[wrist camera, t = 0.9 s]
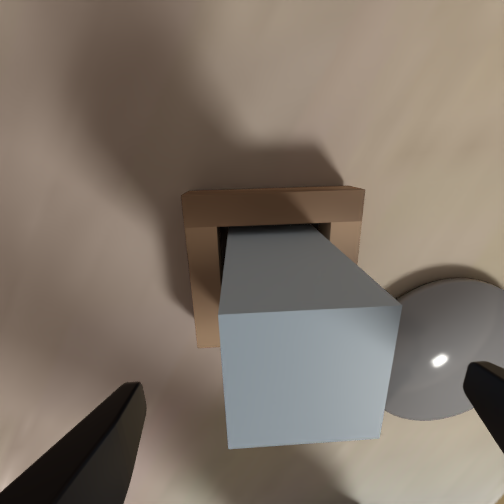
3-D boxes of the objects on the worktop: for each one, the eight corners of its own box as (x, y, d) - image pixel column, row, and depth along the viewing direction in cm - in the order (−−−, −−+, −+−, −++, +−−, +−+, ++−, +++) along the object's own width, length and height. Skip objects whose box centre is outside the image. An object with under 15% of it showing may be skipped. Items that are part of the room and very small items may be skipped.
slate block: (306, 295, 17) (379, 438, 8) (232, 299, 16) (228, 449, 8) (309, 223, 15) (402, 305, 7) (228, 226, 15) (217, 314, 6)
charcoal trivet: (495, 408, 21) (503, 415, 20) (351, 418, 20) (355, 425, 19) (542, 273, 17) (552, 277, 16) (368, 282, 16) (373, 286, 16)
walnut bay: (336, 319, 17) (349, 339, 15) (202, 327, 17) (197, 348, 15) (348, 185, 15) (364, 189, 13) (188, 190, 14) (181, 195, 12)
